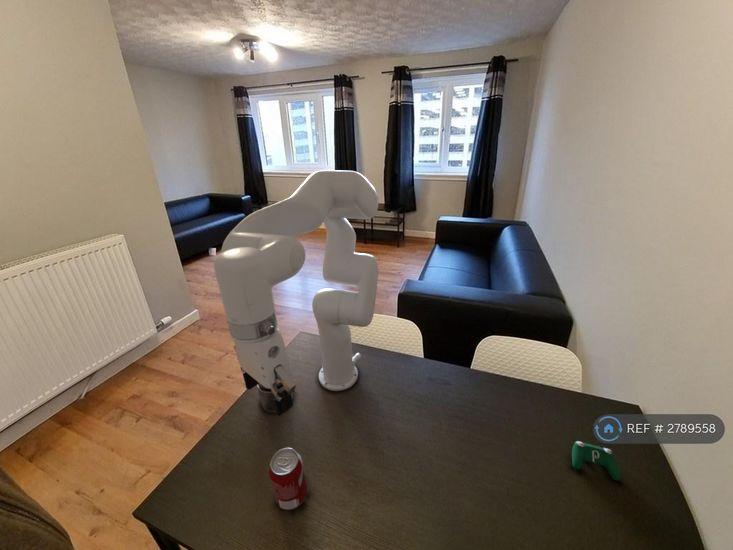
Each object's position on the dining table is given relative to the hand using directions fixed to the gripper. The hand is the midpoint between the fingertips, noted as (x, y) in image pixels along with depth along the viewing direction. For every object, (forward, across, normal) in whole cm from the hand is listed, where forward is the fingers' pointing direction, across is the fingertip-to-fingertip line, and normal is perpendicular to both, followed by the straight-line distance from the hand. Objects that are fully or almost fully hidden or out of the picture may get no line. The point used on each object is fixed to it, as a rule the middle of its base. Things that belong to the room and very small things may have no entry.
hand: (269, 397), depth 57 cm
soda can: (+27, -3, +1) cm, 27 cm away
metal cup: (+26, +21, -13) cm, 36 cm away
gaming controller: (+27, -53, -48) cm, 76 cm away
